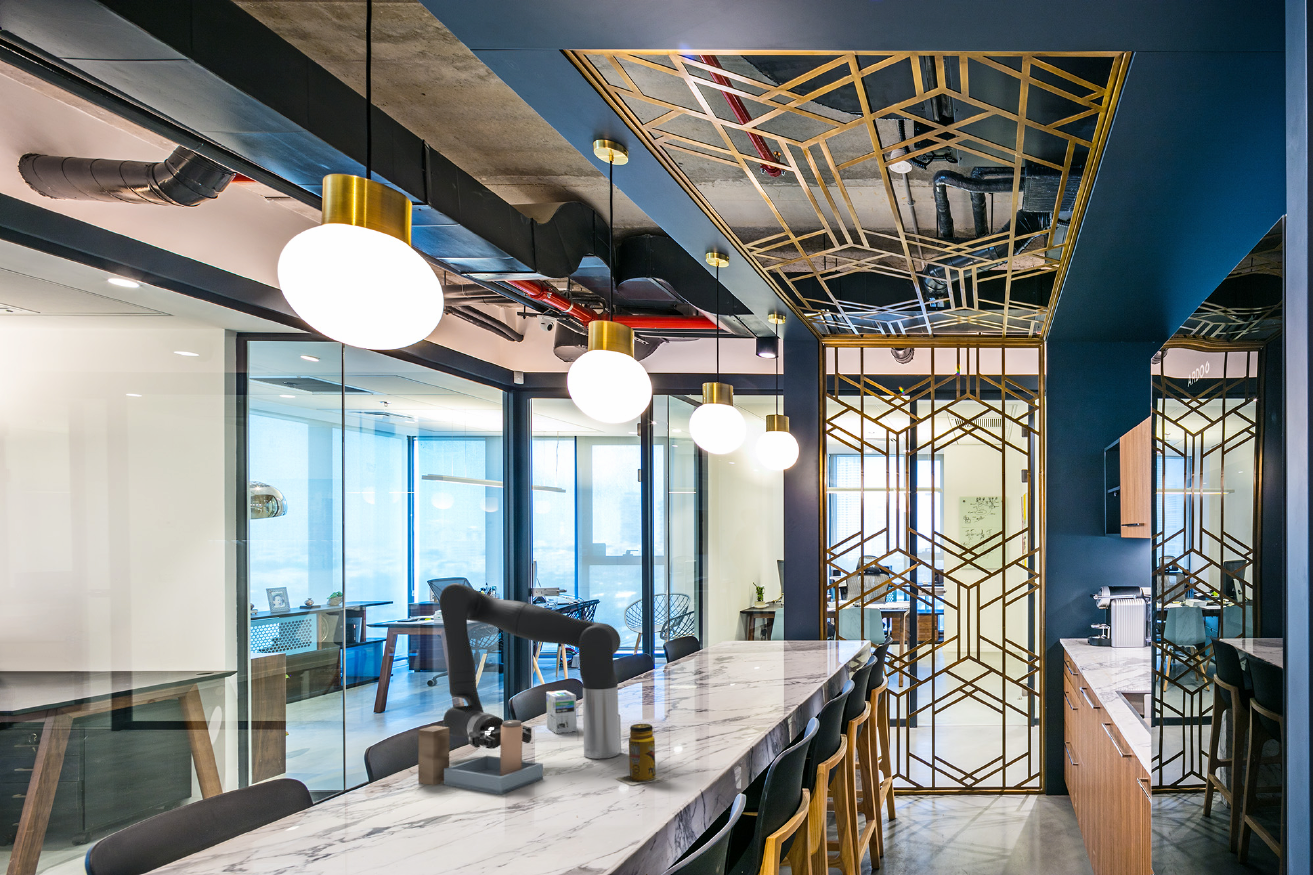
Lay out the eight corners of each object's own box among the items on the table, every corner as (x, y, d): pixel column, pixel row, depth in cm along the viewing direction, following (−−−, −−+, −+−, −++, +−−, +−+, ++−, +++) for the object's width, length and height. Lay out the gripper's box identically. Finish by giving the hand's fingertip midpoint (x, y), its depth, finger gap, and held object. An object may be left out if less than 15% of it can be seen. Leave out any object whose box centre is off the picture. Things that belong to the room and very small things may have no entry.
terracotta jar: (510, 775, 197) (511, 718, 199) (526, 778, 195) (527, 721, 196) (495, 779, 193) (496, 722, 195) (511, 783, 190) (512, 724, 192)
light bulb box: (577, 731, 247) (576, 694, 249) (555, 734, 245) (554, 696, 246) (567, 725, 257) (566, 689, 258) (545, 727, 254) (545, 691, 256)
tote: (487, 770, 206) (486, 755, 206) (542, 779, 196) (542, 763, 197) (444, 784, 194) (444, 768, 195) (501, 794, 185) (501, 778, 185)
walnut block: (434, 777, 201) (434, 725, 203) (449, 779, 198) (449, 727, 200) (418, 782, 197) (418, 729, 198) (433, 785, 194) (433, 731, 196)
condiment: (663, 779, 193) (661, 725, 195) (631, 786, 188) (630, 730, 190) (645, 773, 199) (644, 720, 201) (615, 779, 194) (614, 725, 196)
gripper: (458, 717, 205) (482, 728, 191) (513, 710, 212) (539, 720, 199) (458, 749, 204) (482, 762, 190) (513, 741, 211) (540, 753, 198)
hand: (511, 741), depth 195 cm, fingers open, 8 cm apart
